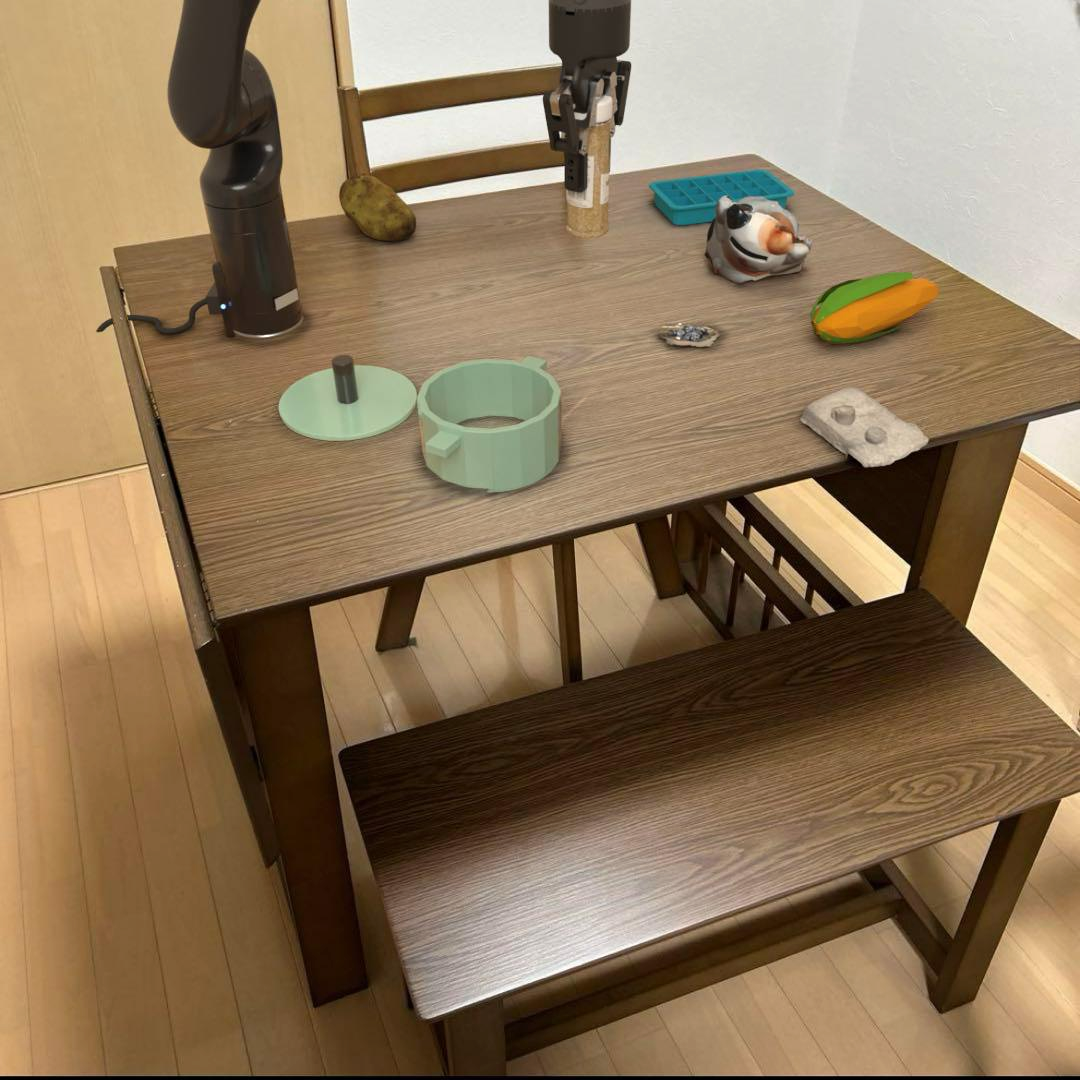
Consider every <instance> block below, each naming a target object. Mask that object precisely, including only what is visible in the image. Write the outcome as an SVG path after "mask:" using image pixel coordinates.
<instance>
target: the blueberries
mask: <svg viewBox="0 0 1080 1080" xmlns="http://www.w3.org/2000/svg"><path fill="white" fill-rule="evenodd" d="M656 335H659V336H660V338H662V339H665V340H666V341H665V342H666V344H669V345H670V346H673V345H676V346H691V347H697V348H702V347H711V346H712V345H713V344H715V342H714V341H716V340H717V339H718V338H719V337H720V333H719V331H717V330H715V329H713V328H710V327H708V326H698V325H694V326H692V325H690V324H685V325H684V324H682V323H681V322H678V324H676V323H675V324H671V323H669V324H664V325H662V326H660V328H659V329H658V331H657V332H656Z"/></svg>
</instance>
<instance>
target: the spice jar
mask: <svg viewBox="0 0 1080 1080" xmlns="http://www.w3.org/2000/svg"><path fill="white" fill-rule="evenodd" d="M612 112H613V100H612V97H611V96H605V95H603V96H602V97H601V98H600V99H599V103H598V105H597V119H596V125H595V128H594V129H592V130H591V131H590V135H589V142H588V149H587V152H586V153H588V173H587V189H586V190H585V191H583V192H581V193H579V192H574V191H569V190H567V189H566V188H565V189H566V191H565V198H566V217H567V218H566V220H567V221H566V225H565V230H566V232H567V233H568V234H569V235H571V236H572V237H574V238H579V239H596V238H599V237H603V236H604V235H606V234H607V233H609V229H610V223H609V201H610V173H611V158H610V154H609V146H610V142H609V141H610V122H611V118H612ZM586 115H587V113H585V114H581V113H575V112H574V116H575V119H580V120H584V119H585V118H586ZM576 129H577V136H578V141H579V135H580V129H579V128H577V127H576Z"/></svg>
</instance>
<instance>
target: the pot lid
mask: <svg viewBox="0 0 1080 1080" xmlns="http://www.w3.org/2000/svg"><path fill="white" fill-rule="evenodd" d="M330 362H331V367H330V368H325V369H322V370H319V371H315V372H313V373H311V374H308V375H306V376H304V377H302V378H300V379H298V380H297V381H295V382H294V383H292V384H291V385H290V386H288V388H287V389H286V390H285V391H284V392H283V393H282V395H281V396H280V398H279V403H278V414H279V417H280V419H281V421H282V423H283V424H284V425H285V426H286V427H287V428H288V429H290V430H291V431H292V432H295V433H296V434H298V435H300V436H303V437H306V438H310V439H313V440H320V441H328V442H343V441H344V442H345V441H355V440H362V439H366V438H370V437H375V436H378V435H380V434H384V433H386V432H389V431H390V430H392V429H394V428H396V427H397V426H399V425H401V424H402V423H404V422H405V421H406V420H407V419H408V418H409V417H411V415H412V414H413V412H414V411H415V409H416V407H417V396H418V392H417V388H416V386H415V384H414V383H413V382H412V381H411V380H410V378H408V377H407V376H405V375H404V374H402V373H400V372H398V371H395V370H393V369H391V368H386V367H382V366H377V365H375V366H374V365H366V364H364V365H363V364H356V365H355V363H354V358H353V357H352V355H349V354H340V355H336V356H334V357H333V358H332V359H331V361H330Z"/></svg>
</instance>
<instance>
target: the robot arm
mask: <svg viewBox="0 0 1080 1080" xmlns="http://www.w3.org/2000/svg"><path fill="white" fill-rule="evenodd" d="M182 1H183V2H182V7H181V8H182V9H181V13H180V14H181V15H180V20H179V25H178V30H177V35H176V40H175V45H174V49H173V54H172V59H171V64H170V69H169V74H168V80H167V89H166V91H167V93H166V94H167V95H166V96H167V104H168V110H169V114H170V116H171V119H172V121H173V123H174V125H175V127H176V129H177V130H178V132H179V133H180V134H181V136H182V137H183V138H184V139H185V140H186V141H187V142H189V144H192V145H194V146H195V147H197V148H201V149H205V150H209V154H208V157H207V160H206V162H205V164H204V165H203V168H202V170H201V172H200V175H199V187H200V192H201V197H202V201H203V206H204V211H205V215H206V220H207V224H208V229H209V233H210V238H211V242H212V247H213V252H214V258H215V260H214V262H212V265H211V270H212V276H213V280H214V283H212V285H211V287H210V289H209V290H208V291H207V293H206V295H205V297H204V298H203V299H201V300H199V301H196V303H194V304H193V305H192V306H191V308H190V309H189V313H188V320H187V322H185V323H184V324H182V325H180V326H178V327H177V326H176V327H169V328H168V327H167V328H166V327H163V326H162V322H161V320H160V319H159V318H157V317H155V316H149V315H142V314H126V315H127V317H128V320H129V321H130V322H145V323H152V324H154V326H155V329H156V331H157V332H158V333H159V334H162V335H177V334H181V333H184V332H186V331H187V330H189V329H190V328H192V327H193V325H194V324H195V321H196V313H197V312H198V310H199V309H201V308H202V307H204V306H206V305H207V309H208V314H209V315H210V316H217V315H218V316H221V317H222V322H223V325H224V329H225V330H224V331H225V335H226V337H234V338H235V337H238V338H241V339H245V340H252V341H264V340H266V341H267V340H273V339H274V340H275V339H277V338H282V337H285V336H287V335H290V334H292V333H294V332H295V331H297V330H299V329H300V328H301V327H302V325H303V323H304V321H305V316H304V312H303V307H302V303H301V298H300V297H301V296H300V292H299V291H300V290H299V285H298V279H297V273H296V266H295V262H294V256H293V255H294V254H293V250H292V244H291V238H290V232H289V226H288V220H287V214H286V209H285V203H284V196H283V191H282V185H281V175H282V169H283V164H284V157H283V156H284V155H283V146H282V137H281V128H280V120H279V111H278V106H277V105H278V104H277V99H276V95H275V90H274V85H273V83H272V80H271V77H270V75H269V73H268V71H267V69H266V67H265V66H264V65H263V63H262V61H261V60H260V59H259V58H258V57H257V56H256V55H255V54H254V53H253V52H251V51H250V50H248V49H247V48H246V47H247V40H248V35H249V32H250V28H251V25H252V22H253V19H254V17H255V14H256V13H257V10H258V8H259V6H260V4H261V1H262V0H182ZM631 13H632V0H548V48H549V51H551V53H552V54H554V55H556V56H557V57H558V58H559V59H560V60H561V68H560V74H559V80H558V85H559V86H558V87H557V88H556V89H555V90H554V91H548V90H546V91H545V92H544V93H543V95H542V106H543V112H544V118H545V123H546V128H547V129H546V130H547V133H548V140H549V145H550V150H551V151H553V152H560V153H563V157H564V158H563V159H564V164H563V165H564V171H563V172H564V174H563V175H564V181H563V182H564V183H563V184H564V188H565V189H567V190H569V191H574V192H579V193H581V192H583V191H585V190H586V189H587V173H588V153H586V152H587V149H588V142H589V135H590V131H591V130H592V129H594V128H595V125H596V119H597V105H598V103H599V99H600V98H601V97H602V96H603V95H605V96H611V97H612V100H613V112H612V118H611V122H610V141H609V142H610V146H609V154H610V159H611V153H612V138H614V136H615V133H616V126H618V127H621V126H622V125H623V124H624V123H623V122H624V118H625V111H626V105H627V99H628V92H629V85H630V78H631V71H632V62H631V61H629V60H624V59H623V60H621V59H618V57H621V56H622V55H624V54H626V53H627V52H628V50H629V48H630V43H631V17H632V15H631ZM574 112H575V113H581V114H585V113H587V115H586V118H585V119H584V120H580V119H575V116H574ZM576 127H577V128H579V129H580V135H579V141H578V136H577V129H576ZM560 133H561V134H560ZM112 318H113V317H111V318H108V319H107V320H105V321H103V322H102V323H101V324H100V325H99V326H98V327H97V328H96V331H95V332H96V333H102V332H105V330H106V329H107V328H109V327H111V326H112V325H114V324H115V323H113V319H112ZM129 321H128V322H129Z"/></svg>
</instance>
